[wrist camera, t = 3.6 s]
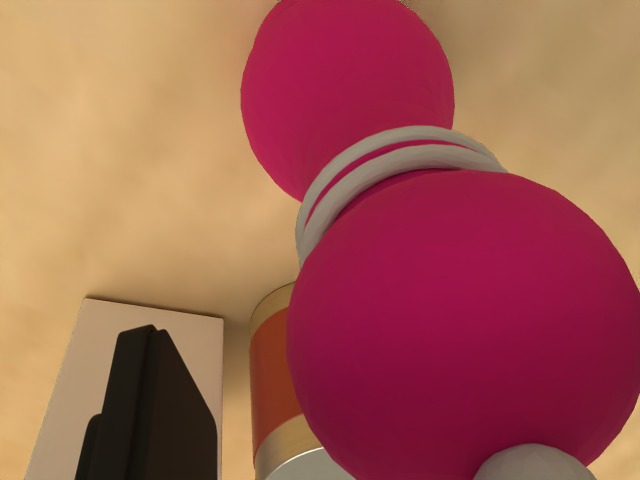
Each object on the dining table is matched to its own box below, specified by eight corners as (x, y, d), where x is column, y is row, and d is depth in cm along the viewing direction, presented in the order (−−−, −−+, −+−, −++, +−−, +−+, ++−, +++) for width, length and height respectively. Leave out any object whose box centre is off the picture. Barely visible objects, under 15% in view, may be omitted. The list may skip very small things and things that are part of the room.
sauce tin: (356, 265, 29) (406, 425, 21) (376, 351, 33) (424, 514, 25) (232, 296, 29) (233, 468, 21) (266, 379, 33) (278, 551, 25)
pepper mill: (425, -32, 21) (1077, 344, 5) (402, 143, 25) (715, 666, 9) (234, -35, 20) (248, 416, 4) (243, 147, 24) (266, 738, 8)
